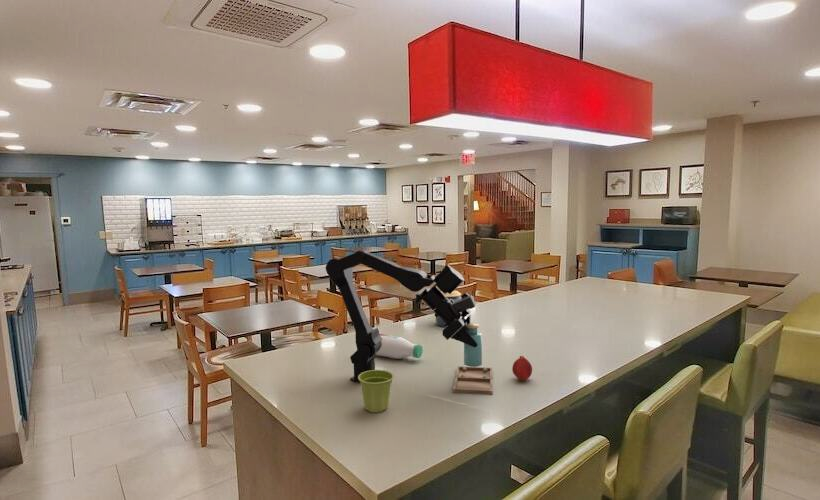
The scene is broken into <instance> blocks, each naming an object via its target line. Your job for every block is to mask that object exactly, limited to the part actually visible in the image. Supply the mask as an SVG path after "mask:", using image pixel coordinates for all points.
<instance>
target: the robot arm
mask: <svg viewBox="0 0 820 500" xmlns="http://www.w3.org/2000/svg"><path fill="white" fill-rule="evenodd" d="M359 265H363V266H365V267H368V268H370V269H372V270H375V271H376V272H378V273H381V274H383V275H386V276H387V277H390V278H393V279H394V280H396V281H397V282H399V284H400V285H402V286H403V287H404V288H406V289H408V290H409V291H411V292H413V293H415V292H420V291H421V293H416V294H415V304H416V305H418V304H420V303H421V302H422V301H423V303H425V304H426V306H427V307H428V308H429V309H430V310H431V311H433V313H434V318H435V319H436V318H437V317H439V318H440V319H441V320H442V321H443V322H444V323H445V325H444V326H445V327H443V330H442V336H443V337H444V338H445V339H446V341H448V340H449V339H451V340H456V341H458V342H461V343H463V344H464V343H465V344H468V345H470V346H473V347H477V346H478V344H477V343H476V341H475V340H474V338H473V337H472V336H471V334H470V333H469V331H468V327H467V324H472V322H471V317H472V316H471V312H472V311H471V310H472V309H473V308H476V306H477V302H476V301H475V297H474V296H473V294H469V293H467V292H464V293H461V299H459V300H458V301H455V302H454V301H453V300H452V299H450V300H449V299H448V298H447V297H446V296H445V295H444V294H443V293H445V294H446V293H447V292H448V293H449V294H451V293H452V292H453V291H454V290H455V291H456V290H457V288H458V287H459V286H460V285H462V284H463V283H464V282H465V278H464V276H463V275H462V274H461V273H460V272H459V271H458V270H456V269H455V268H453V267H452V266H451V265H450V264H446V265H445V266H444V267H443V269H442V270H441V271H440V272H439V273H438V274H437V275H434V274H427V273H426V271H424V270H422V269H419V268H413V267H407V266H402V265H400V264H398V263H395V262H393V261H390V260H388V259H387V258H383V257H381V256H379V255H376V254H374V253H372V252H370V251H368V250H367V249H361V250H357V251H356V252H354V253H352V254H349V255H346V256H340V257H339V256H338V257H335V258H330V260H328V262H327V263H326V265H325V271H326V274H327V275H328V277H329V279H330V280H331V282H332V283H333V284H334V285H335V286H336V287H337V288H338V290H339V292H340V294H341V298H342V300H343V302H344V305H345V308H346V310H347V312H348V315H349V317H350V320H351V323H352V325H353V329H354V331H355V345H356V350H355V352H354V353H352V354H351V355H350V356H349V359H350V362H351V364H352V365H353V376H352V377H349V378H350V381H352V382H357V383H360V381H359V379H358V376H359V375H360V374H361V373H363V372H366V371H370V370H376V363H375V357H376V356H377V355H376V353H377V352H378V351H379V350H380V348H381V346H382V342H381V340H382V338H381V336H380V334H381V333H380V330H379V328H378V327H376V328H373V327H372V325H370V323H369V320H368V317H367V316H366V312H365V310H364V308H363V305H362V303H361V300H360V298H359V295H358V292H357V290H356V287H355V285H354V280H353V279H354V274H353V268H355V267H357V266H359ZM434 283H435V284H434ZM433 284H434V285H433ZM432 285H433V286H432ZM430 286H432V287H431V288H429V287H430ZM422 289H424V290H423V291H422ZM441 291H442V292H443V293H442V292H441ZM467 315H469V316H467Z"/></svg>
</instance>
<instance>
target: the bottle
mask: <svg viewBox="0 0 820 500" xmlns="http://www.w3.org/2000/svg"><path fill="white" fill-rule="evenodd" d="M467 327H468V331H469V333H470V334H471V336H472V337H473V338H474V340H475V341H476V343H477V344H478V346H477V347H473V346H470V345H468V344H465V343H463V364H464V366H465V367H482V365H483V333H481V332H479V331H478V329H479V324H478V323H472V322H471V324H467Z"/></svg>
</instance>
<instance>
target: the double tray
mask: <svg viewBox="0 0 820 500" xmlns="http://www.w3.org/2000/svg"><path fill="white" fill-rule="evenodd" d="M493 388H494V386H493V367H482V366H477V367H471V366H462V365H461V366H460V365H459V366H457V368H456V373H455V377H454V383H453V388H452V392H453V393H462V394H476V395H478V394H479V395H493V394H494V393H493V390H494V389H493Z"/></svg>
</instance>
